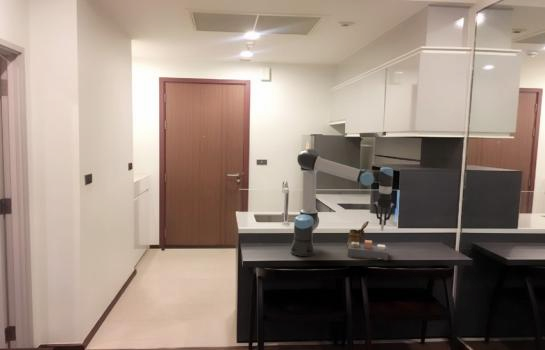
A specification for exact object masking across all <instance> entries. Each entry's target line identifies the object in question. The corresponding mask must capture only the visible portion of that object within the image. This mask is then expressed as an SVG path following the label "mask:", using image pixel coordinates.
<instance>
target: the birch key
mask: <svg viewBox="0 0 545 350" xmlns="http://www.w3.org/2000/svg"><path fill="white" fill-rule="evenodd" d="M351 247H356V248H359V242H352V244H351Z"/></svg>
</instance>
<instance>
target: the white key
mask: <svg viewBox="0 0 545 350" xmlns="http://www.w3.org/2000/svg"><path fill="white" fill-rule="evenodd" d="M376 246H377V250H385V246H386V244H380V243H379V244H377V245H376Z"/></svg>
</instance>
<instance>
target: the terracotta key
mask: <svg viewBox="0 0 545 350" xmlns="http://www.w3.org/2000/svg"><path fill="white" fill-rule="evenodd" d="M364 244H365V245H364V248H366V249H372V245H373V240H371V239H370V240H369V239H368V240H367V239H364Z"/></svg>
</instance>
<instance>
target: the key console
mask: <svg viewBox="0 0 545 350" xmlns="http://www.w3.org/2000/svg"><path fill="white" fill-rule="evenodd" d="M351 244H352V243H349V246H348V247H347V257H351V256H354V258H360V257H366V258H365V259H370V258H381V259H389V248H388V246H386V245H385V250H377V246H378V245H374V244H372V249H366V248H364V245H365V243H364V244H363V243H360V244H359V248H356V247H351Z"/></svg>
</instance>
